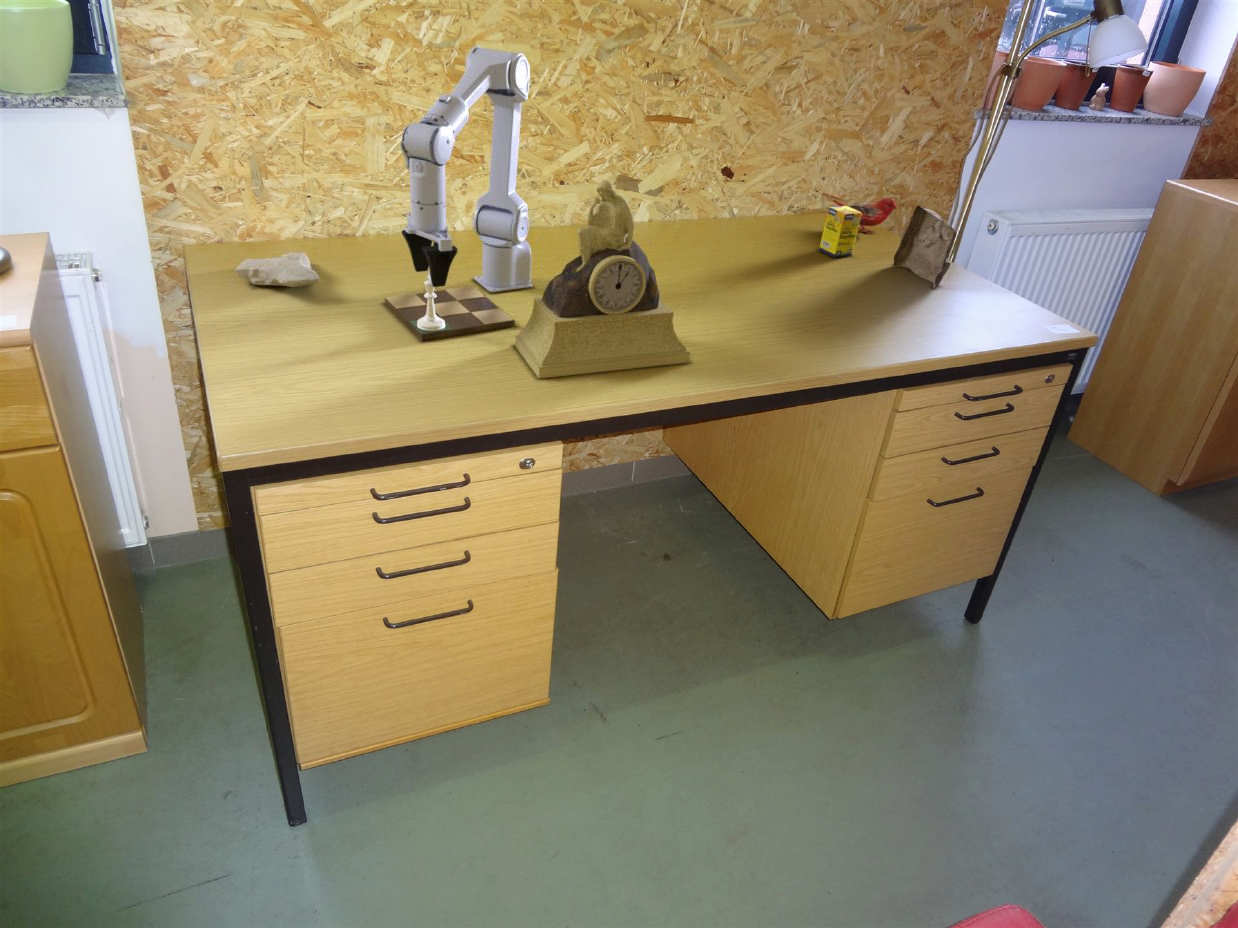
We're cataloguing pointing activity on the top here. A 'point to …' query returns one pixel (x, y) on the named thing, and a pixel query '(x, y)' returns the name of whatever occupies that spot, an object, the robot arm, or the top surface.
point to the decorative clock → (601, 304)
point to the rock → (279, 271)
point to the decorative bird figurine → (873, 212)
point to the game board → (450, 312)
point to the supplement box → (840, 231)
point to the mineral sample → (926, 245)
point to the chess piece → (430, 310)
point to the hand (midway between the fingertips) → (430, 278)
